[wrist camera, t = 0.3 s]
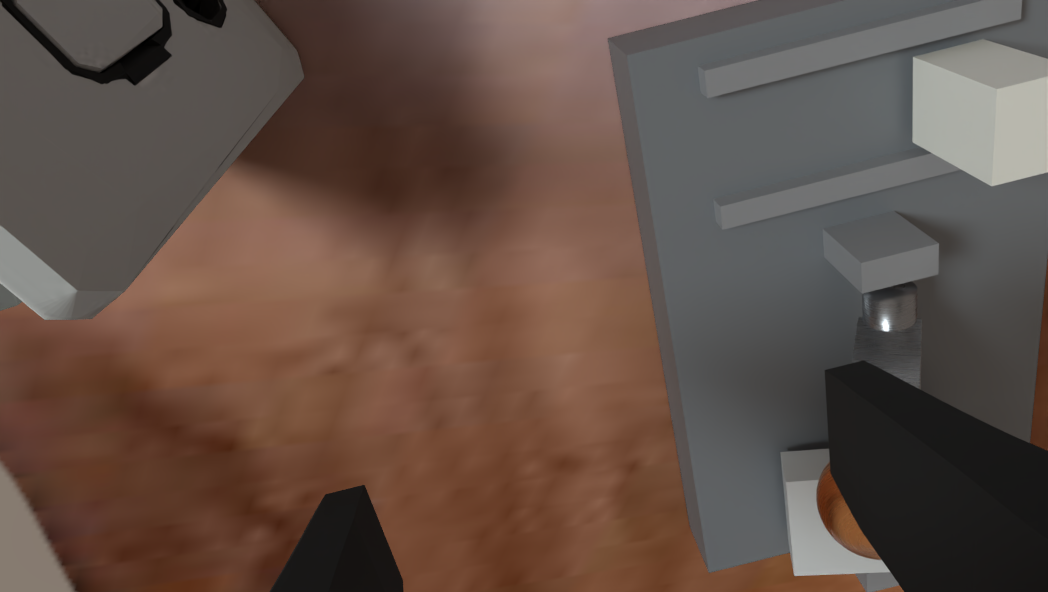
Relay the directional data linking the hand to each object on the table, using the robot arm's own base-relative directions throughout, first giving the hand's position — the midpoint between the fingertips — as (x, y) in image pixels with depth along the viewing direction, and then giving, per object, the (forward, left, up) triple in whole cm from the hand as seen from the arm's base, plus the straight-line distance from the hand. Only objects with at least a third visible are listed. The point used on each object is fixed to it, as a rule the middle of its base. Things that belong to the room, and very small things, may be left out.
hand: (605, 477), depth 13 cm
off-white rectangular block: (+2, -10, -8) cm, 13 cm away
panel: (-4, -8, -10) cm, 13 cm away
